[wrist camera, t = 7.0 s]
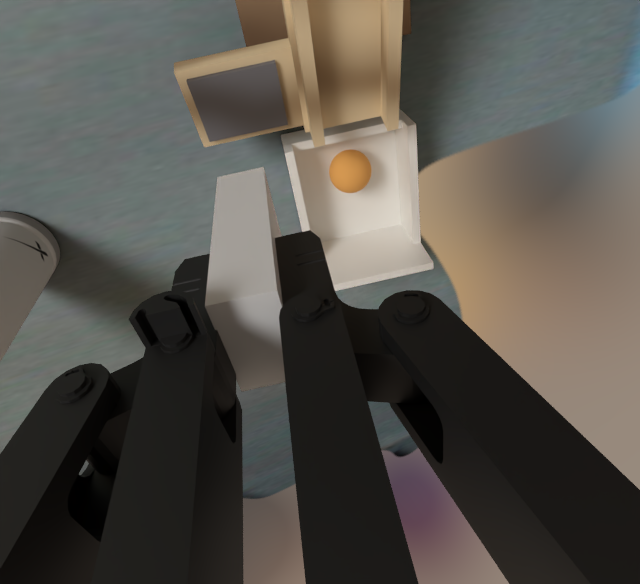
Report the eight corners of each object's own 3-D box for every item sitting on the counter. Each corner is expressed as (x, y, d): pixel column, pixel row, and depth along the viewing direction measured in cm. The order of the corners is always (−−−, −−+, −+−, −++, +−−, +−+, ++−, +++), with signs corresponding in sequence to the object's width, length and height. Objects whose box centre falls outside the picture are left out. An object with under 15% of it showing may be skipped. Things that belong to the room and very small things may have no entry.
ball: (342, 184, 37) (336, 145, 35) (379, 183, 35) (374, 142, 34) (326, 199, 34) (318, 158, 33) (365, 199, 33) (359, 156, 31)
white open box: (280, 134, 34) (288, 169, 28) (399, 108, 34) (431, 137, 28) (305, 248, 40) (316, 295, 34) (406, 225, 40) (433, 268, 34)
